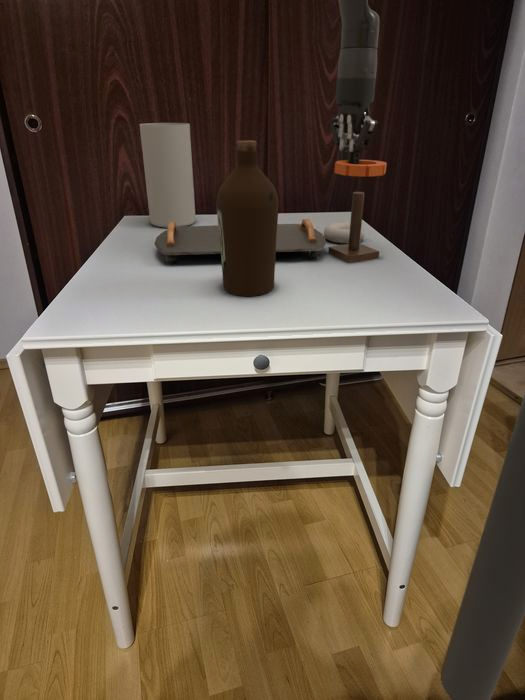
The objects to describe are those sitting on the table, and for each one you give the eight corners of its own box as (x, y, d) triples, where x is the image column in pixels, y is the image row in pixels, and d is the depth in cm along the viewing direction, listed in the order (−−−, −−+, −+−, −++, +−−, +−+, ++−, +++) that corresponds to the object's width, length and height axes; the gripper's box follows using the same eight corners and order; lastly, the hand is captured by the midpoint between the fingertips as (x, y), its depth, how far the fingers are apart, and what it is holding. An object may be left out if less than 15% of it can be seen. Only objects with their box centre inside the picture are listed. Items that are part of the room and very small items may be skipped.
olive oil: (279, 278, 94) (281, 138, 82) (274, 299, 84) (276, 144, 73) (225, 276, 95) (220, 138, 83) (214, 296, 85) (207, 143, 74)
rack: (378, 257, 106) (386, 194, 99) (349, 263, 103) (354, 197, 96) (356, 248, 112) (362, 188, 106) (327, 253, 109) (331, 191, 102)
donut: (372, 241, 118) (343, 232, 125) (374, 227, 117) (344, 218, 124) (343, 248, 113) (314, 238, 120) (344, 233, 111) (315, 224, 118)
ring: (395, 174, 97) (396, 163, 96) (355, 177, 93) (355, 166, 92) (364, 168, 105) (365, 158, 104) (325, 171, 101) (326, 161, 100)
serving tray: (151, 267, 100) (147, 237, 97) (160, 238, 120) (158, 212, 117) (334, 261, 103) (336, 232, 100) (313, 234, 124) (315, 209, 121)
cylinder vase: (153, 218, 140) (143, 122, 128) (197, 217, 140) (191, 122, 129) (147, 228, 129) (135, 125, 117) (194, 228, 129) (187, 125, 118)
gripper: (395, 75, 90) (384, 173, 98) (350, 77, 101) (344, 165, 109) (362, 74, 87) (354, 175, 95) (320, 77, 98) (316, 167, 106)
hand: (348, 169), depth 102 cm, fingers closed on ring, 2 cm apart
